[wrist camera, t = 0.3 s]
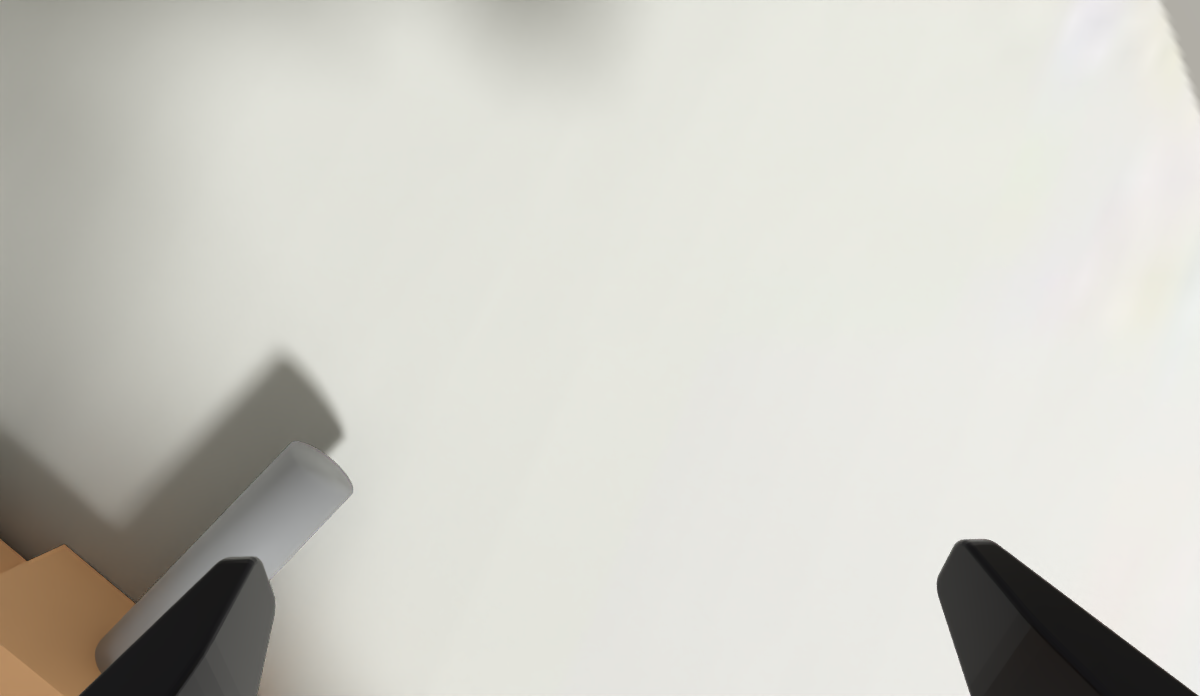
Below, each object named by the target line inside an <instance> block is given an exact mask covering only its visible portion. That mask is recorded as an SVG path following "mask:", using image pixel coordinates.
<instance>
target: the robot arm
mask: <svg viewBox="0 0 1200 696" xmlns="http://www.w3.org/2000/svg"><path fill="white" fill-rule="evenodd" d="M937 592H938V597H939V600H940V603H941V606H942V609H943V612H944V615H945V618H946V621H947V625H948V628H949V631H950V634H951V637H952V640H953V643H954V646H955V649H956V652H957V655H958V658H959V661H960V665H961V668H962V671H963V674H964V677H965V680H966V683H967V686H968V689H969V692H970V695H971V696H1198V695H1197V694H1195V693H1194V692H1193V691H1192V690H1190V689H1189V688H1188V687H1186V686H1185V685H1184V684H1182V683H1181V682H1180V681H1178V680H1177V679H1176V678H1174V677H1173V676H1172V675H1170V674H1169V673H1168V672H1166V671H1165V670H1164V669H1162V668H1161V667H1160V666H1158V665H1157V664H1156V663H1154V662H1153V661H1152V660H1150V659H1149V658H1148V657H1146V656H1145V655H1144V654H1142V653H1141V652H1140V651H1139V650H1137V649H1136V648H1135V647H1133V646H1132V645H1131V644H1129V643H1128V642H1127V641H1125V640H1124V639H1123V638H1121V637H1120V636H1119V635H1117V634H1116V633H1115V632H1113V631H1112V630H1111V629H1109V628H1108V627H1107V626H1105V625H1104V624H1103V623H1101V622H1100V621H1099V620H1097V619H1096V618H1095V617H1093V616H1092V615H1091V614H1089V613H1088V612H1087V611H1086V610H1084V609H1083V608H1082V607H1080V606H1079V605H1078V604H1076V603H1075V602H1074V601H1072V600H1071V599H1070V598H1068V597H1067V596H1066V595H1064V594H1063V593H1062V592H1060V591H1059V590H1058V589H1056V588H1055V587H1054V586H1052V585H1051V584H1050V583H1048V582H1047V581H1046V580H1044V579H1043V578H1042V577H1040V576H1039V575H1038V574H1036V573H1035V572H1034V571H1033V570H1031V569H1030V568H1029V567H1027V566H1026V565H1025V564H1023V563H1022V562H1021V561H1019V560H1018V559H1017V558H1015V557H1014V556H1013V555H1011V554H1010V553H1009V552H1007V551H1006V550H1005V549H1003V548H1002V547H1001V546H999V545H998V544H996V543H995V542H993V541H991V540H987V539H964V540H960V541H958V542H957V543H956V544H955V545H954V547H953V548H952V550H951V552H950V554H949V556H948V558H947V560H946V562H945V564H944V566H943V568H942V569H941V571H940V573H939V575H938V579H937ZM274 614H275V597H274V593H273V590H272V588H271V585H270V582H269V579H268V576H267V574H266V571H265V568H264V565H263V563H262V561H261V560H260V559H259V558H258V557H255V556H242V557H226V558H224V559H222V560H220V561H219V562H217V563H216V564H215V565H214V566H213V567H212V568H211V569H210V570H209V571H208V572H207V573H206V574H205V575H204V576H203V577H201V578H200V579H199V580H198V581H197V582H196V583H195V584H194V585H193V586H192V587H191V588H190V589H189V590H188V591H187V592H186V593H185V594H184V595H183V596H182V597H181V598H180V599H179V600H178V601H177V602H175V603H174V604H173V605H172V606H171V607H170V608H169V609H168V610H167V611H166V612H165V613H164V614H163V615H162V616H161V617H160V618H159V619H158V620H157V621H156V622H155V623H154V624H153V625H152V626H150V627H149V628H148V629H147V630H146V631H145V632H144V633H143V634H142V635H141V636H140V637H139V638H138V639H137V640H136V641H135V642H134V643H133V644H132V645H131V646H130V647H129V648H128V649H127V650H125V651H124V652H123V653H122V654H121V655H120V656H119V657H118V658H117V659H116V660H115V661H114V662H113V663H112V664H111V665H110V666H109V667H108V668H107V669H106V670H105V671H104V672H103V673H102V674H100V675H99V676H98V677H97V678H96V679H95V680H94V681H93V682H92V683H91V684H90V685H89V686H88V687H87V688H86V689H85V690H84V691H83V692H82V693H81V694H80V695H79V696H257V693H258V689H259V684H260V679H261V675H262V670H263V666H264V661H265V656H266V652H267V647H268V643H269V638H270V633H271V629H272V624H273V619H274Z"/></svg>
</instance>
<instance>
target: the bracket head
mask: <svg viewBox="0 0 1200 696" xmlns="http://www.w3.org/2000/svg"><path fill="white" fill-rule="evenodd" d="M352 493H353V486H352V483H351V481H350V479H349V478H348V476H347V475H346V473H345V472H344V471H343V470H342V469H341V468H340V466H339V465H338V464H337V463H335V462H334V461H333V460H332V459H331V458H330V457H328V456H327V455H326V454H324V453H323V452H322V451H320V450H319V449H317V448H315V447H313V446H311V445H309V444H307V443H304V442H300V441H293V442H291V443H290V444H289V445H288V446H287V447H286V448H285V449H284V450H283V451H282V452H281V453H280V454H279V455H278V456H277V458H276V459H275V460H274V461H273V462H272V463H271V464H270V465H269V466H268V467H267V468H266V469H265V470H264V471H263V472H262V473H261V474H260V475H259V476H258V477H257V478H256V479H255V480H254V481H253V482H252V483H251V485H250V486H249V487H248V488H247V489H246V490H245V491H244V492H243V493H242V494H241V495H240V496H239V497H238V498H237V499H236V500H235V501H234V502H233V503H232V504H231V505H230V506H229V507H228V508H227V509H226V510H225V512H224V513H223V514H222V515H221V516H220V517H219V518H218V519H217V520H216V521H215V522H214V523H213V524H212V525H211V526H210V527H209V528H208V529H207V530H206V531H205V532H204V533H203V534H202V535H201V536H200V537H199V539H198V540H197V541H196V542H195V543H194V544H193V545H192V546H191V547H190V548H189V549H188V550H187V551H186V552H185V553H184V554H183V555H182V556H181V557H180V558H179V559H178V560H177V561H176V562H175V563H174V564H173V566H172V567H171V568H170V569H169V570H168V571H167V572H166V573H165V574H164V575H163V576H162V577H161V578H160V579H159V580H158V581H157V582H156V583H155V584H154V585H153V586H152V587H151V588H150V589H149V590H148V591H147V593H146V594H145V595H144V596H143V597H142V598H141V599H140V600H139V601H138V602H137V603H136V604H135V603H134V602H133V601H132V600H130V599H129V598H128V597H127V596H126V595H124V594H123V593H122V592H121V591H120V590H118V589H117V588H116V587H115V586H114V585H112V584H111V583H110V582H109V581H108V580H106V579H105V578H104V577H103V576H102V575H100V574H99V573H98V572H97V571H96V570H95V569H93V568H92V567H91V566H90V565H89V564H87V563H86V562H85V561H84V560H83V559H81V558H80V557H79V556H78V555H77V554H75V553H74V552H73V551H72V550H71V549H69V548H68V547H67V546H66V545H65V544H64V545H61V546H59V547H57V548H55V549H53V550H51V551H48V552H46V553H44V554H42V555H40V556H38V557H35V558H33V559H31V560H29V561H26V560H25V559H24V558H23V557H21V556H20V555H19V554H18V553H17V552H15V551H14V550H13V549H12V548H11V547H9V546H8V545H7V544H6V543H4V542H3V541H2V540H1V539H0V696H79V695H80V694H81V693H82V692H83V691H84V690H85V689H86V688H87V687H88V686H89V685H90V684H91V683H92V682H93V681H94V680H95V679H96V678H97V677H98V676H99V675H100V674H102V673H103V672H104V671H105V670H106V669H107V668H108V667H109V666H110V665H111V664H112V663H113V662H114V661H115V660H116V659H117V658H118V657H119V656H120V655H121V654H122V653H123V652H124V651H125V650H127V649H128V648H129V647H130V646H131V645H132V644H133V643H134V642H135V641H136V640H137V639H138V638H139V637H140V636H141V635H142V634H143V633H144V632H145V631H146V630H147V629H148V628H149V627H150V626H152V625H153V624H154V623H155V622H156V621H157V620H158V619H159V618H160V617H161V616H162V615H163V614H164V613H165V612H166V611H167V610H168V609H169V608H170V607H171V606H172V605H173V604H174V603H175V602H177V601H178V600H179V599H180V598H181V597H182V596H183V595H184V594H185V593H186V592H187V591H188V590H189V589H190V588H191V587H192V586H193V585H194V584H195V583H196V582H197V581H198V580H199V579H200V578H201V577H203V576H204V575H205V574H206V573H207V572H208V571H209V570H210V569H211V568H212V567H213V566H214V565H215V564H216V563H217V562H219V561H220V560H222V559H224V558H226V557H242V556H255V557H258V558H259V559H260V560H261V561H262V563H263V565H264V568H265V571H266V574H267V576H268V579H269V580H270V579H271V578H272V577H273V576H274V575H275V574H276V573H277V572H278V571H279V570H280V569H281V568H282V567H283V566H284V565H285V564H286V563H287V562H288V561H289V560H290V558H291V557H292V556H293V555H294V554H295V553H296V552H297V551H298V550H299V549H300V548H301V547H302V546H303V545H304V544H305V543H306V542H307V541H308V540H309V539H310V538H311V536H312V535H313V534H314V533H315V532H316V531H317V530H318V529H319V528H320V527H321V526H322V525H323V524H324V523H325V522H326V521H327V520H328V519H329V518H330V517H331V516H332V514H333V513H334V512H335V511H336V510H337V509H338V508H339V507H340V506H341V505H342V504H343V503H344V502H345V501H346V500H347V499H348V498H349V497H350V496H351V495H352Z"/></svg>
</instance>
